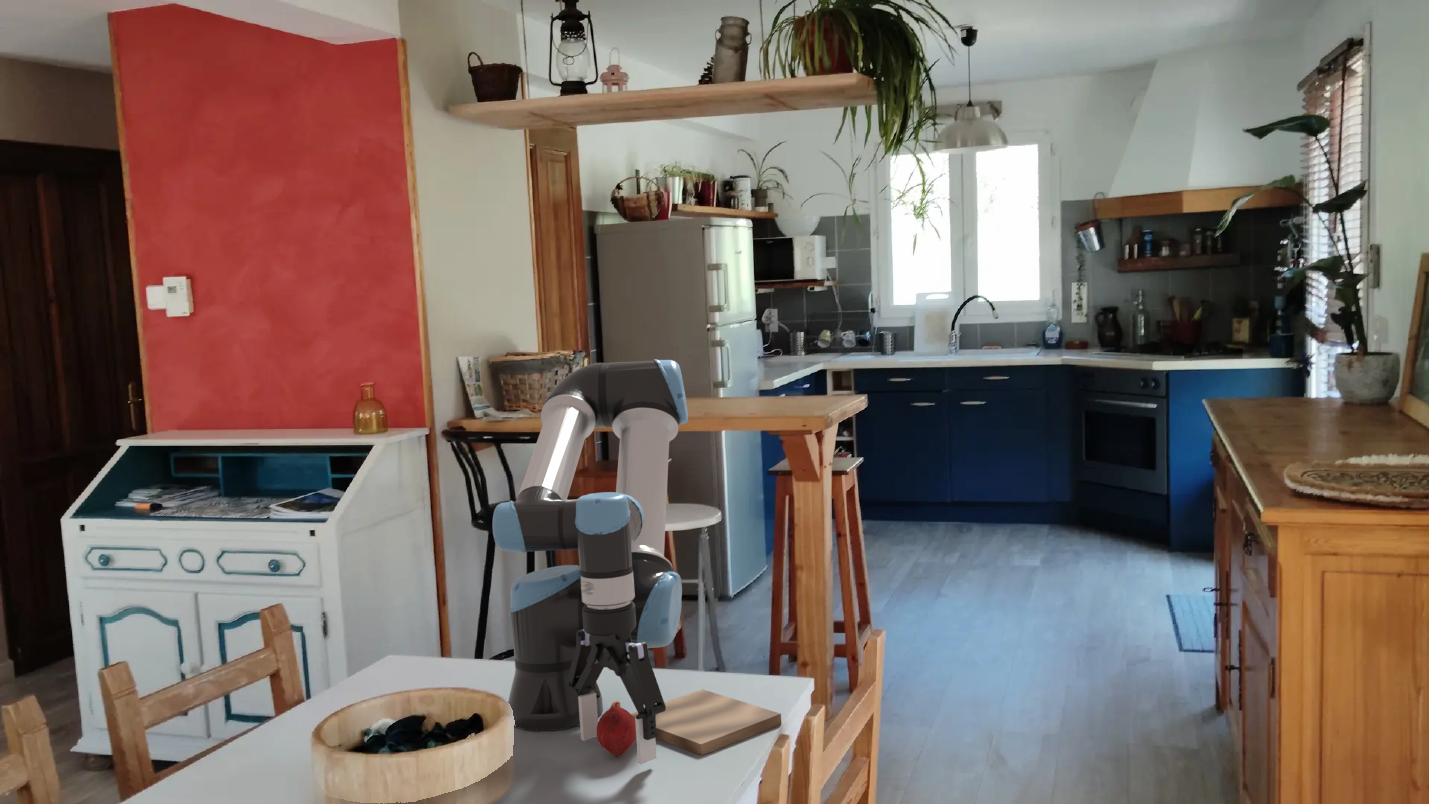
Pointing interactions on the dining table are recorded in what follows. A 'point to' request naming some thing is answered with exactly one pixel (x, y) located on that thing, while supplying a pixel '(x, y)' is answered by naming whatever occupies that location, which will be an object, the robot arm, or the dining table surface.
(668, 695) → the dining table surface
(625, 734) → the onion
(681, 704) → the chopping board
